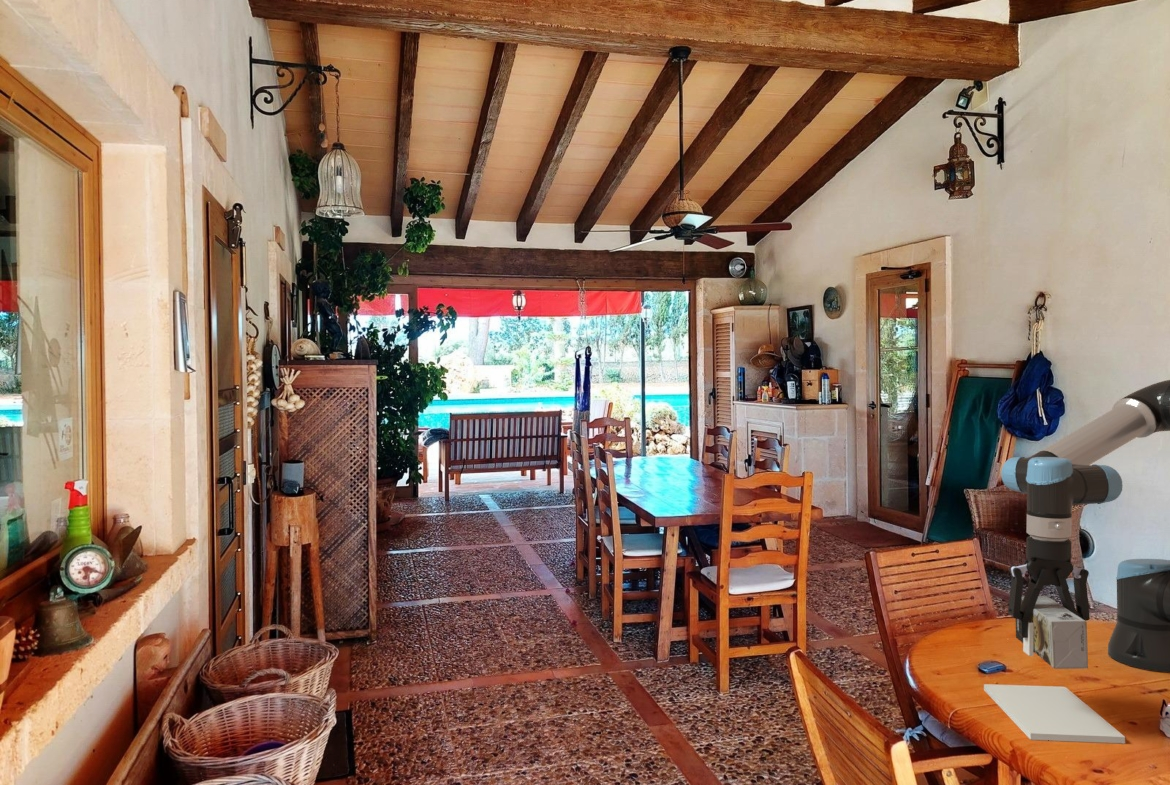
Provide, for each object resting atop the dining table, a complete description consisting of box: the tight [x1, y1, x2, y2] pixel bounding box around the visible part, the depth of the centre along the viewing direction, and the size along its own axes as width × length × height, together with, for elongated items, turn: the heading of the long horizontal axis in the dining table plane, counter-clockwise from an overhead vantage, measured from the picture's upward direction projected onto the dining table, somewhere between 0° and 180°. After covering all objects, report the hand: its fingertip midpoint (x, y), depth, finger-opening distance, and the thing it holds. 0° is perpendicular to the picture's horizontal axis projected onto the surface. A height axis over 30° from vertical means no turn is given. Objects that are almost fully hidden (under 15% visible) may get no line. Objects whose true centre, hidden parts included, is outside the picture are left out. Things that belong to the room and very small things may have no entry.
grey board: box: [983, 683, 1126, 745], centre depth 150 cm, size 16×22×1 cm
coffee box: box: [1015, 595, 1089, 670], centre depth 149 cm, size 9×6×16 cm
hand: (1047, 654), depth 150 cm, fingers closed on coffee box, 6 cm apart
